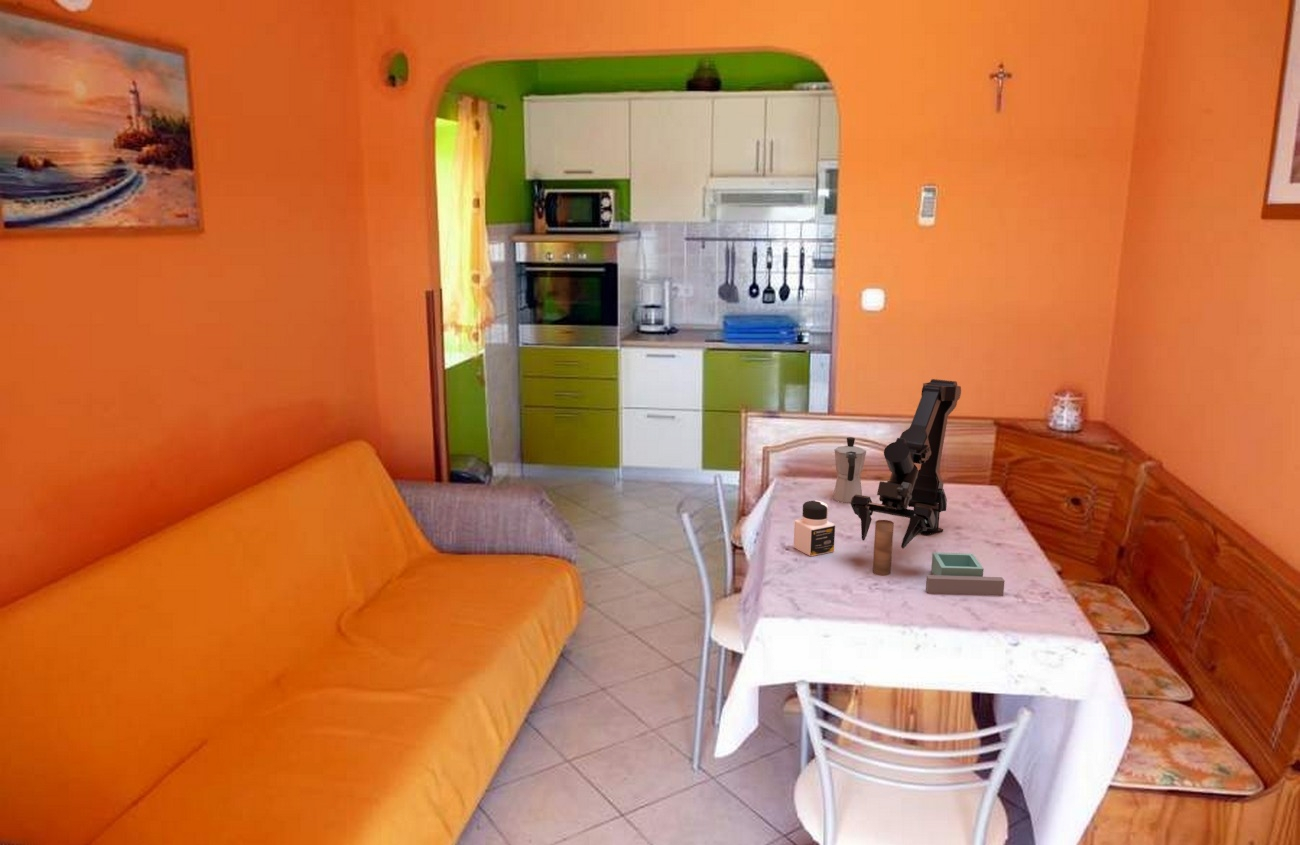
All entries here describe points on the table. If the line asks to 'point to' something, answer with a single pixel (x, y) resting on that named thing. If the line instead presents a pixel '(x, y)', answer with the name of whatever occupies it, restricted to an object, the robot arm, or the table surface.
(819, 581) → the table surface
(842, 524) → the table surface
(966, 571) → the socket block
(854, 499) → the robot arm
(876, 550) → the dowel
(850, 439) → the coffee maker
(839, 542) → the table surface
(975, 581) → the backstop wall
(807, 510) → the medicine bottle
